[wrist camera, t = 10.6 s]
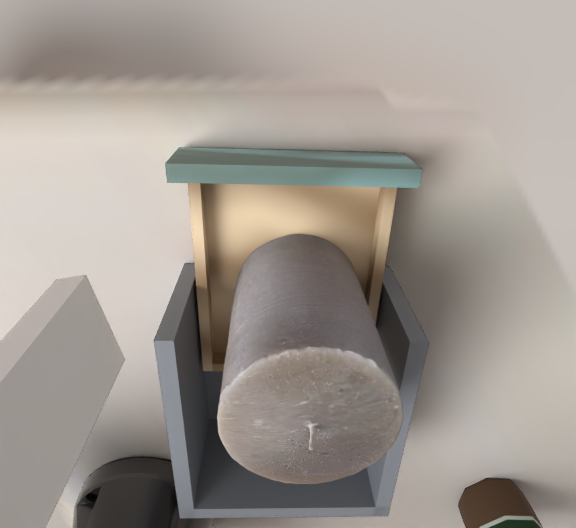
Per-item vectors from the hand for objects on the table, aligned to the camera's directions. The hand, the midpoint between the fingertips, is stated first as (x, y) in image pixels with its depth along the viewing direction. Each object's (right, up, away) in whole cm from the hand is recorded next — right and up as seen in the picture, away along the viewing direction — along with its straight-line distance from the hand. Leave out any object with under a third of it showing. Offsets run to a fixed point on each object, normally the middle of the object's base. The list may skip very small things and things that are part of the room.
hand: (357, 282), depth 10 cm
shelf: (-2, +1, +24) cm, 24 cm away
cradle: (-2, -8, +29) cm, 30 cm away
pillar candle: (-1, -1, +23) cm, 23 cm away
